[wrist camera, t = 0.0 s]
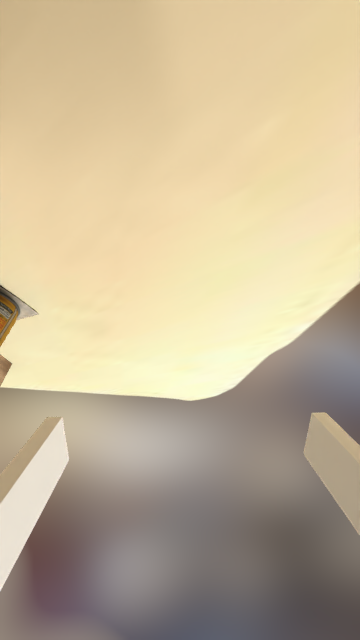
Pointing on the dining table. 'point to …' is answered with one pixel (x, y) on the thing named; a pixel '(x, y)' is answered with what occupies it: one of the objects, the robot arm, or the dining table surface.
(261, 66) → the dining table surface
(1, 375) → the riser
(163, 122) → the dining table surface
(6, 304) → the condiment
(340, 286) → the dining table surface
